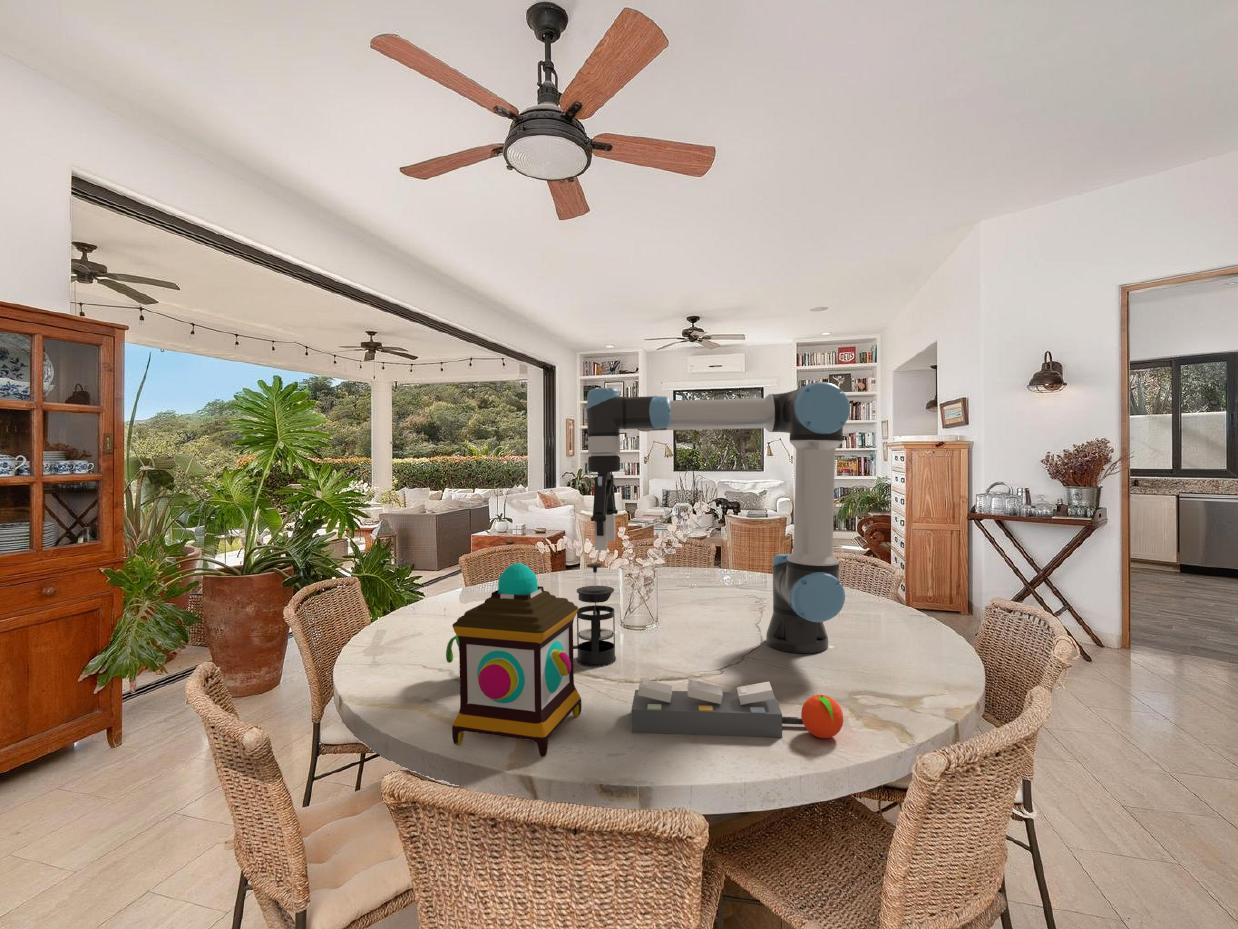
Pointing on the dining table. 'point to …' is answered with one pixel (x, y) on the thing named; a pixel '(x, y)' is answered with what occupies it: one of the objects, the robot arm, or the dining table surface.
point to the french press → (595, 625)
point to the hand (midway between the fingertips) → (605, 545)
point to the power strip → (708, 716)
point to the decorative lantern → (516, 662)
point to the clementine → (822, 716)
